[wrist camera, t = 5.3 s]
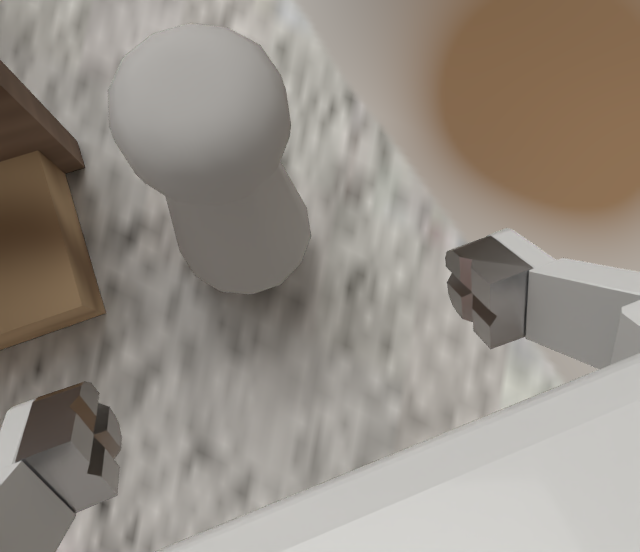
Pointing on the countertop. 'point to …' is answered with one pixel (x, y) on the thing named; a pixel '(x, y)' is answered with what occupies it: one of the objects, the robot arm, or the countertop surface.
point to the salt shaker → (214, 152)
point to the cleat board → (39, 222)
